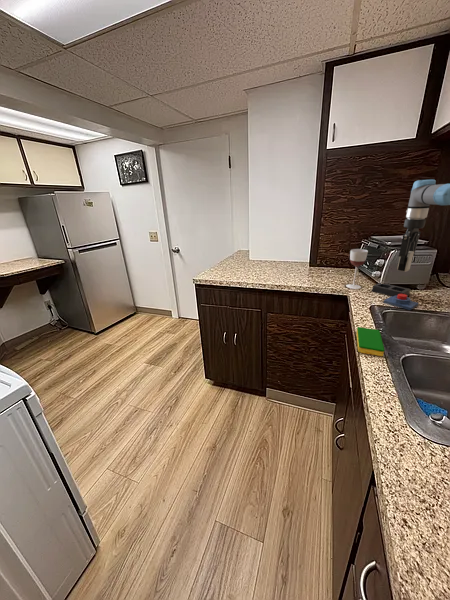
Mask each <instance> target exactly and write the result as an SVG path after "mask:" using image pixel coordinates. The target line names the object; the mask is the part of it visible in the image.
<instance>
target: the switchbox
mask: <svg viewBox="0 0 450 600" xmlns="http://www.w3.org/2000/svg"><path fill="white" fill-rule="evenodd" d="M397 296H398V295H397ZM397 296H389V297H387V298H386V299H384V300H383V302H382V303H383V304H386V305H390V306H394V307H397V308H401V309H405V310H408V311H412V310H413V309H415V308H416V307H417V306H419V302H417V301H412V300H411V298H410V297H408V296H407V299H406V300H401V299H398V298H397Z"/></svg>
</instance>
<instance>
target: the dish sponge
mask: <svg viewBox="0 0 450 600" xmlns="http://www.w3.org/2000/svg"><path fill="white" fill-rule="evenodd" d="M356 339H357V340H356V343H357V352H358V353H361V354H367V355H373V356H378V357H384V354H385V347H384V343H383V338H382V334H381V331H380V329H376V328H370V327H369V328H368V327H361V326H357V327H356Z"/></svg>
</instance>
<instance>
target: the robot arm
mask: <svg viewBox="0 0 450 600" xmlns="http://www.w3.org/2000/svg"><path fill="white" fill-rule="evenodd" d="M436 182H437V181H436V180H435V179H420V180H419V179H418V180H416V181H414V182H413V185H412V188H411V190H410V196H409V199H408V205H407V209H406V211H405V213H406V215H405V219H404V223H403V227H404V228H405V229H406V231H405V233H404V234H402V236H401V237H402V238H401V244H400V248H399V253H398V257H399V258H400V257H401V258H400V262H399V261H398V262H399V266H398V265H397V266H398V270H397V271H399V270H401V271H400V272H404V271H405V267H406V263H407V259H408V257H407V256H408V252H409V251H414V254H413V256H415V255H416V250H417V247H418V243H419V239H420V236H421V234H422V231H420V229H423V228H425V225H426V221H427V218H428V213H429V210H430V205H434V206H450V183H439V184H436Z"/></svg>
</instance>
